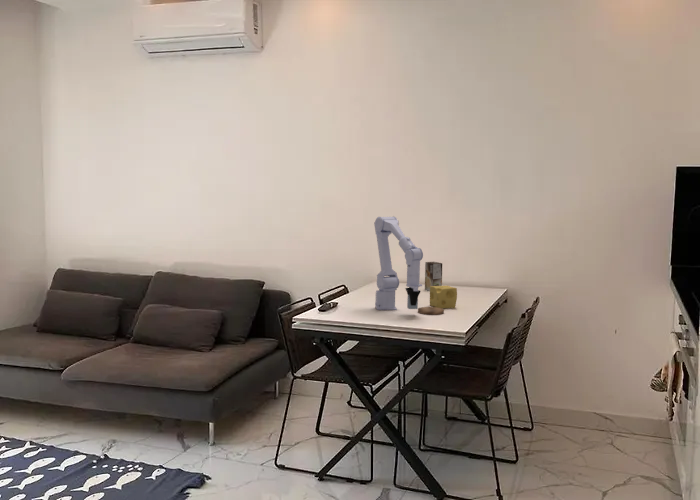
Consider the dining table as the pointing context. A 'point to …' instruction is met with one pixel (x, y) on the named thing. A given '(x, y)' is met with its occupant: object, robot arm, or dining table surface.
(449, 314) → the dining table surface
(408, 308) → the block
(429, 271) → the coffee box
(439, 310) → the disc
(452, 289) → the cheese
